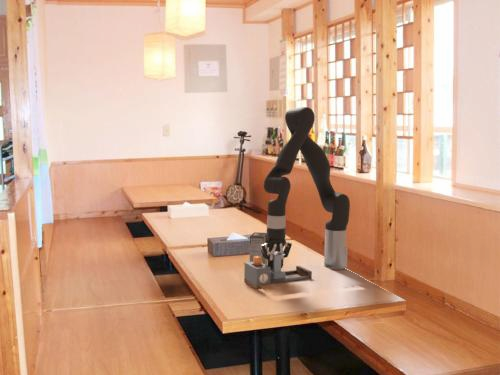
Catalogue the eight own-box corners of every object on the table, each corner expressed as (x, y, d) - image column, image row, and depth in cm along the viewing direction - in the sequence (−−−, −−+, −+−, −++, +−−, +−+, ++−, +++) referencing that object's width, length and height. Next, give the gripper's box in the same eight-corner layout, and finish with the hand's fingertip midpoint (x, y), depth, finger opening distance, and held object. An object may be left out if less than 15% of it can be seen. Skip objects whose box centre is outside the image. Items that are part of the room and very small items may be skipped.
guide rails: (295, 272, 269) (295, 270, 269) (308, 279, 260) (308, 276, 260) (258, 277, 262) (258, 274, 262) (270, 283, 252) (270, 280, 252)
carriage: (276, 275, 264) (276, 251, 263) (285, 280, 257) (286, 255, 255) (265, 276, 262) (265, 252, 260) (274, 281, 254) (274, 256, 253)
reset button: (259, 263, 257) (259, 255, 257) (262, 265, 254) (263, 257, 254) (252, 263, 256) (252, 256, 255) (255, 265, 253) (255, 258, 252)
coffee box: (253, 268, 282) (253, 231, 280) (267, 268, 281) (268, 232, 279) (249, 273, 273) (249, 235, 271) (263, 274, 272) (264, 236, 270)
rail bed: (298, 275, 270) (298, 265, 270) (312, 282, 260) (312, 271, 260) (244, 282, 260) (244, 271, 259) (256, 289, 250) (256, 277, 249)
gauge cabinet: (257, 276, 262) (258, 261, 261) (270, 284, 252) (271, 267, 251) (244, 278, 259) (244, 262, 259) (256, 285, 249) (257, 269, 248)
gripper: (287, 223, 263) (286, 264, 265) (256, 225, 257) (255, 268, 259) (296, 226, 256) (295, 269, 258) (264, 229, 250) (263, 272, 252)
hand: (275, 268), depth 259 cm, fingers open, 3 cm apart
